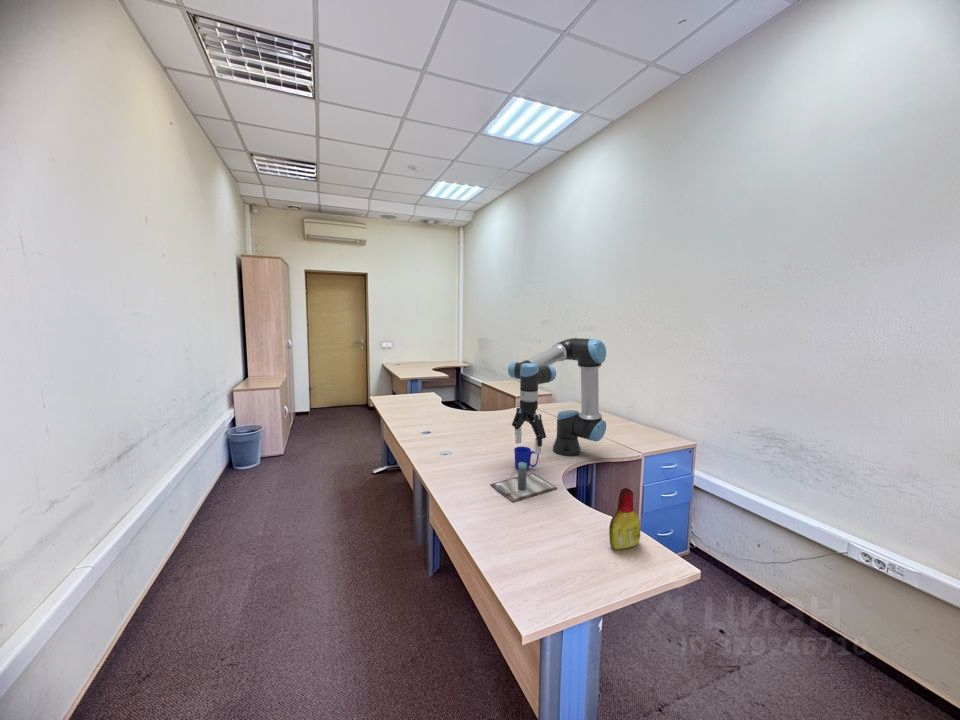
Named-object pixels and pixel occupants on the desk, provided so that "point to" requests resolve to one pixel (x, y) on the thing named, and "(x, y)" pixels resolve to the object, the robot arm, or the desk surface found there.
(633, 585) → the desk surface
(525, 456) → the mug
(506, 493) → the clipboard
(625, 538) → the bottle
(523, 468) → the marker
